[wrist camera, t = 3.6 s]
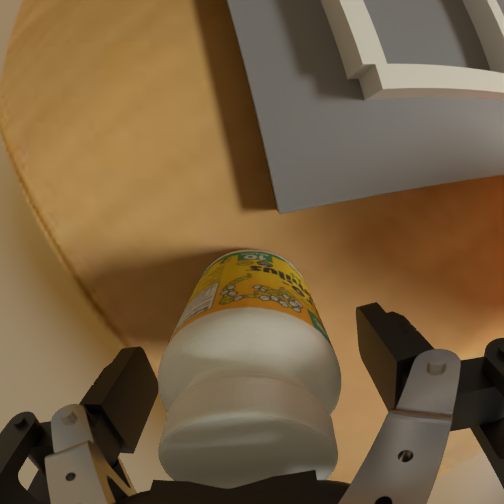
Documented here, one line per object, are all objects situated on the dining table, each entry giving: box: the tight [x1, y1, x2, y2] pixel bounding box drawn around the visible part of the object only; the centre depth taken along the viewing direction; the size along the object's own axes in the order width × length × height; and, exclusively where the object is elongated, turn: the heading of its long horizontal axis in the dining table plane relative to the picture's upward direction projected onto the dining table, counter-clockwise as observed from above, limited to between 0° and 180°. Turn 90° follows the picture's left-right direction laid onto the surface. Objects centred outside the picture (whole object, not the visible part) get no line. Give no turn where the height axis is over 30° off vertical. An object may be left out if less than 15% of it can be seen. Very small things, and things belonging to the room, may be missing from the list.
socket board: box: [226, 0, 504, 214], centre depth 9 cm, size 18×18×4 cm
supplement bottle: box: [158, 249, 341, 489], centre depth 10 cm, size 5×5×10 cm
